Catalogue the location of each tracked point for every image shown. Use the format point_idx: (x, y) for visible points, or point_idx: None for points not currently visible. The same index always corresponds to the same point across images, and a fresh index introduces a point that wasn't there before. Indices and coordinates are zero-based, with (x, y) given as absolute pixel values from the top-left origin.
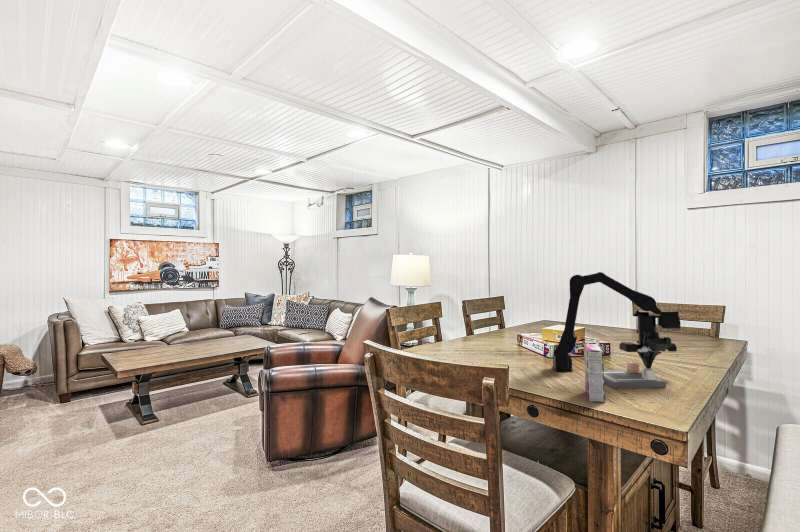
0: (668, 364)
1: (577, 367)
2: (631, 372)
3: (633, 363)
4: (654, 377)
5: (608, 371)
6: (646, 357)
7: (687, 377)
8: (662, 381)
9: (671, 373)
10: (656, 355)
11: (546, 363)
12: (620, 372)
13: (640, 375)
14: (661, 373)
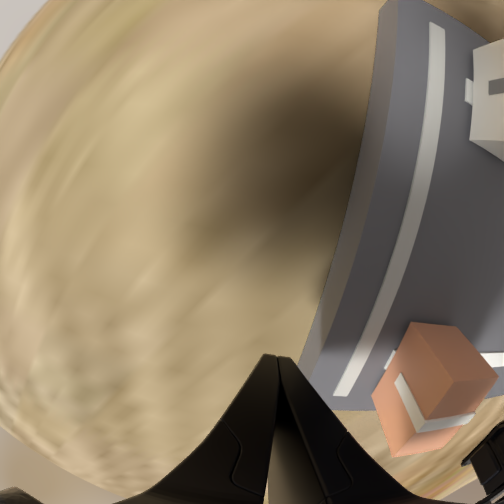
0: (24, 417)
1: (425, 474)
2: None
3: (454, 413)
4: (492, 46)
5: (502, 380)
6: (372, 484)
7: (8, 226)
8: (425, 5)
9: (45, 333)
10: (139, 500)
11: (445, 488)
12: (490, 353)
13: (462, 246)
14: (97, 358)
